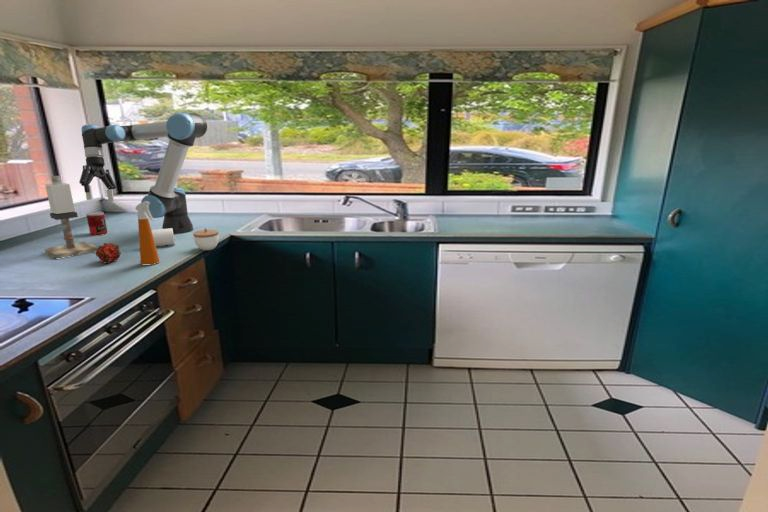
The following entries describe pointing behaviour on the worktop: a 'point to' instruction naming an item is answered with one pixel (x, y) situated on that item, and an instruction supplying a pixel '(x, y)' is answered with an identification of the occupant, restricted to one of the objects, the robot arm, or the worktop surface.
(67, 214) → the thin dark grey plate
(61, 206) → the sleeve
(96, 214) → the canned food
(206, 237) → the lidded jar
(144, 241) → the spray bottle
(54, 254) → the pipe stand
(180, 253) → the worktop surface
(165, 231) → the mug
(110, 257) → the dragon fruit
